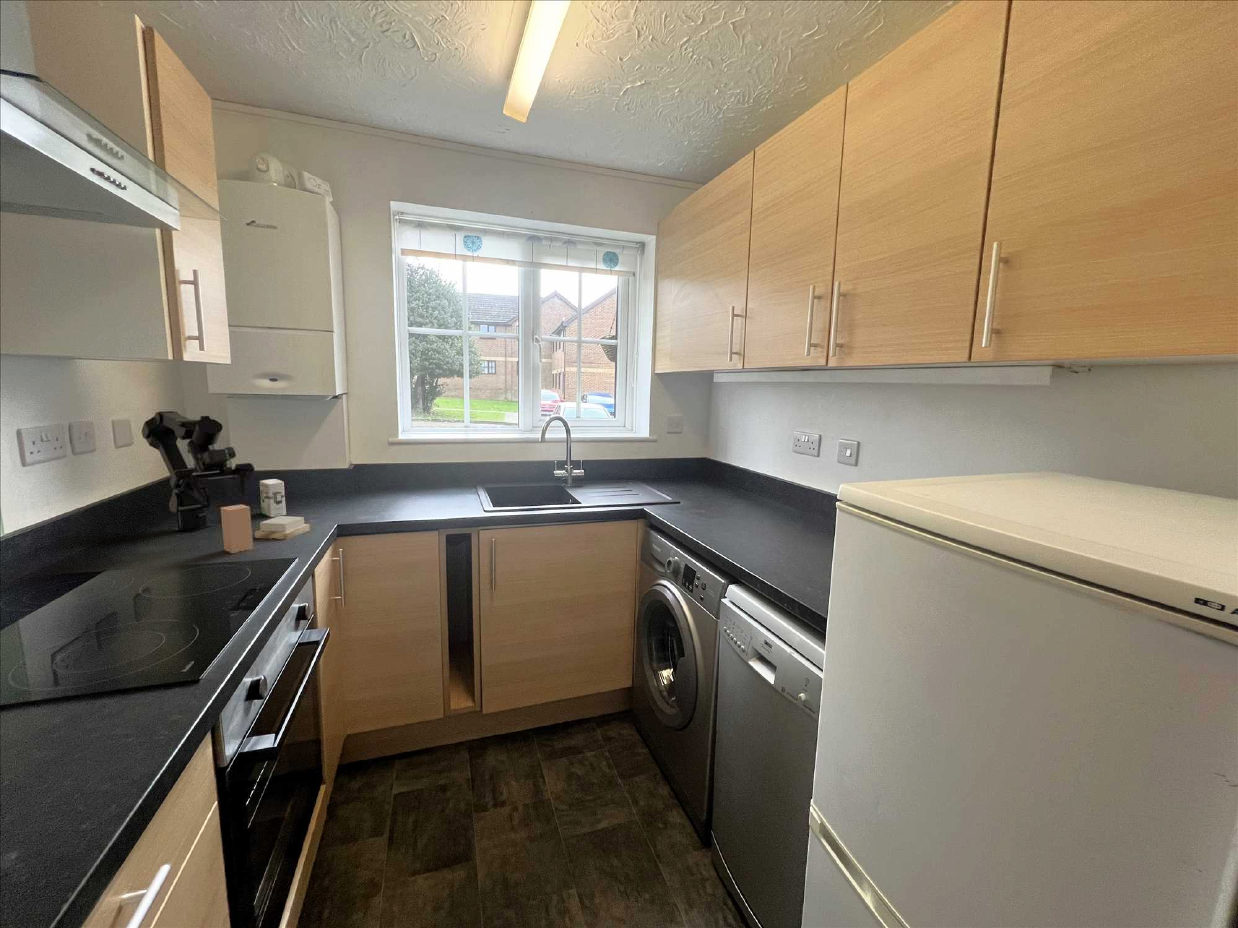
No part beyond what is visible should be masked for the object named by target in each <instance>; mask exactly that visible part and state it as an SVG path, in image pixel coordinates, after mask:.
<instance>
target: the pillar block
mask: <svg viewBox="0 0 1238 928" xmlns="http://www.w3.org/2000/svg"><path fill="white" fill-rule="evenodd" d="M220 517H221V518H220V519H221V527H222V529H221V530H222V536H223V537H222V538H223V539H222V541H223V549H224V551H226V552H228V551H229V552H228V553H231V554H232V553H233V554H236V553H240V552H239V551H242V552H246V551H250V550H254V540H253V528H252V517H251V507H250V506H247V505H245V504H235V505H230V506H229V505H228V506H224V507H223V506H222V507H220ZM245 550H246V551H245Z"/></svg>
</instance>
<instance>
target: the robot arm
mask: <svg viewBox="0 0 1238 928" xmlns="http://www.w3.org/2000/svg"><path fill="white" fill-rule="evenodd" d="M222 431H223V425H222V423H221V422H219V421H218V420H216V419H213V418H211V416H210V415H201V416H199V419H194V418H193V419H192V418H191V419H190V418H189V417H186V416H184V415H181V414H180V413H179V412H178V411H174V410H168V411H167V410H165V411H158V412H157V411H156V412H155V414H154V416H152V417H150V418H149V419H147V420H145V422H144V423H143V425H142V428H141V435H142V438H143V439H144V440H145V441H146V443H147V444H148V446H149V447H151V448H152V449H153V448H154V449H155V450H157V451H158V452H159V454H160V456H161V459H162V460H163V462H164V464H165V466H166V469H167V471H168V474H169V475H170V481H169V484H170V486H171V489H172V490H173V491H172V493H171V497H170V500H169V503H168V505H169V506H168V507H169V511H170V512H173V513H175V515H176V522H177V527H176V528H173V529H172V530H173V531H174V532H175V531H176V532H196V531H199V530H202V529H205V528H208V527H211V524H208V523H207V513H205V509H210V506H211V495H212V494H211V492H210V490H209V489H208V488H207V486H206V485H205V483H204V481H203V480H211V479H212V480H215V479H222V478H223V479H224V478H230V477H232V480H233V481H234V485H235V487H236V489H237V491H238V493H239V495H240V496H241V497H242V498H245V496H246V483H247V481H249V480H251V478H252V477H253V476H252V475H253V474H254V471H255V470H256V469H255V466H254V464H252V463H251V462H244V463H243V462H242V463H235V465H234V468H233V469H225V468H227V466H228V463H227V462H228V461H231V460H233V459H235V458H236V456H237V453H236V450H235V449H234V447H233V446H229V447H225V448H221V449H219V448H218V449H216V448H215V446H214V445H216V444H217V443H218V440H219V439H220V435H221V433H222ZM179 440H180V441H187V443H186V447H187V453H188V454H190V456H191V458H192V460H193V462H194V464H193V467H194V468H195V469H197V471H198V472H194V470H193V469H192V468H189V467H188V464H187V462H186V460H185V458H184V457H183V454H182V452H181V450H180V448H179V445H178V441H179Z"/></svg>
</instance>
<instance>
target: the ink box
mask: <svg viewBox="0 0 1238 928" xmlns="http://www.w3.org/2000/svg"><path fill="white" fill-rule="evenodd" d="M259 490H260V491H259V492H260V506H261V507H260V508H261V509H260V510H261V514H263V515H266V516H268V517H270V518H275V517H278V516H285V515H287V509H286V497H285V483H284V481H282V480H280V479H276V478H273V479H272V478H270V479H263V480H259Z"/></svg>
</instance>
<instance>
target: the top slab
mask: <svg viewBox="0 0 1238 928" xmlns="http://www.w3.org/2000/svg"><path fill="white" fill-rule="evenodd" d="M304 524H305V517H303V516H289V515H288V516H285V515H281V516H275V517H271V518H270V519H267V520H264V521H260V523H259V526H260V530H261V531H275V532H287V531H290V530H293V529H295V528H298V527H301V526H303V525H304Z"/></svg>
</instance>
